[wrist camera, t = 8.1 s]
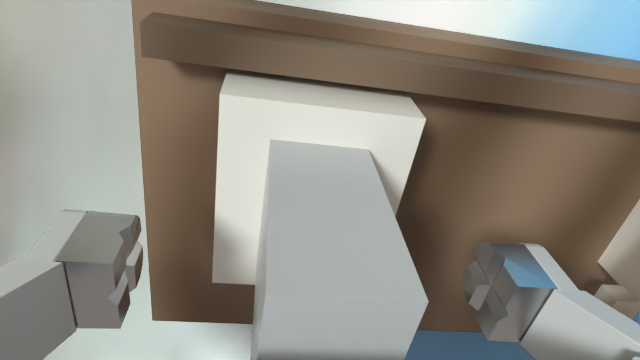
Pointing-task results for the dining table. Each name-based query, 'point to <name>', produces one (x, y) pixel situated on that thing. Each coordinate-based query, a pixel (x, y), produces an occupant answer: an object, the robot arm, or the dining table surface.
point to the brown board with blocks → (430, 158)
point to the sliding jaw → (317, 215)
